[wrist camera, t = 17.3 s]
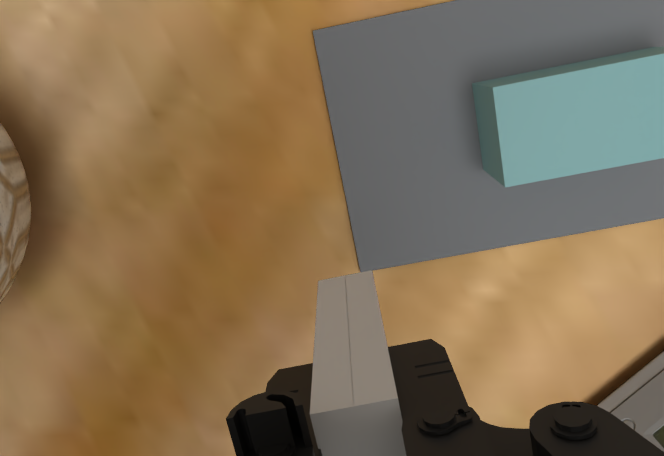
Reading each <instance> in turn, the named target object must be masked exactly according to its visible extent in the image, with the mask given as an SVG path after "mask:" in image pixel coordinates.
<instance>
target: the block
mask: <svg viewBox="0 0 664 456" xmlns="http://www.w3.org/2000/svg"><path fill="white" fill-rule="evenodd" d="M472 88H473V96H474V103H475V111H476V118H477V126H478V133H479V141H480V149H481V156H482V164H483V170H484V171H485V172H487V173H488V174H489V175H490V176H492V177H493V178H494V179H495V180H497V181H498V182H499V183H500V184H501V185H503V186H504V187H511V186H516V185H521V184H527V183H532V182H537V181H543V180H548V179H554V178H559V177H564V176H570V175H575V174H580V173H586V172H591V171H597V170H602V169H607V168H613V167H618V166H624V165H629V164H634V163H640V162H645V161H650V160H656V159H661V158H664V47H651V48H646V49H641V50H636V51H631V52H626V53H621V54H616V55H611V56H606V57H601V58H596V59H591V60H586V61H581V62H576V63H571V64H566V65H561V66H556V67H551V68H546V69H541V70H536V71H531V72H526V73H521V74H516V75H511V76H506V77H501V78H496V79H491V80H486V81H481V82H476V83H472Z"/></svg>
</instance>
